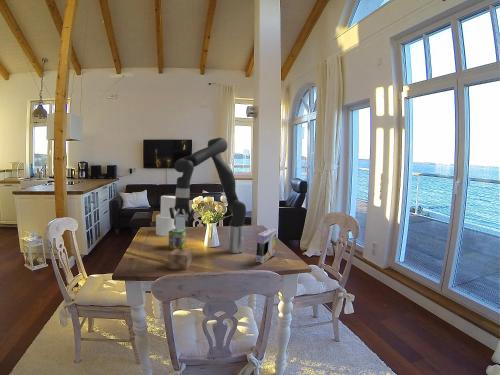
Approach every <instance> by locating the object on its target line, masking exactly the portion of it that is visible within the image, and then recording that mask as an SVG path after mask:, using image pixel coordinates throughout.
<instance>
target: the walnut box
mask: <svg viewBox="0 0 500 375" xmlns="http://www.w3.org/2000/svg"><path fill="white" fill-rule="evenodd" d="M192 251H193V250H192V249H173V250H172V251H170V252H169V254H168V269H169V268H170V269H172V270H184V271H185V270H186V271H187V270H188V268H189V267H190V266H191V265H192V256H193V255H192V254H193V253H192Z"/></svg>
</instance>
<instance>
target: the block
mask: <svg viewBox="0 0 500 375" xmlns="http://www.w3.org/2000/svg"><path fill="white" fill-rule="evenodd" d="M185 218H186V217H184V215H182V214H181V215H178V216H176V224H175V229H182V230H186V229H187V228H188V226H187V227H185V221H186V220H185Z"/></svg>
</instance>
